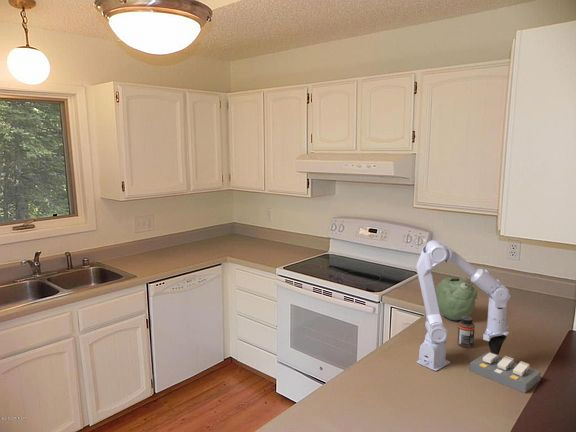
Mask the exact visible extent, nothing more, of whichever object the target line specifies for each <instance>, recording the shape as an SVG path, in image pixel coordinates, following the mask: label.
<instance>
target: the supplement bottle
mask: <svg viewBox="0 0 576 432" xmlns="http://www.w3.org/2000/svg"><path fill="white" fill-rule="evenodd" d="M457 325H458V326H457V345H458V346H460V347H461V348H466V349H470V348H473V347H474V345H475V331H476V329H475V326H476V325H475V323H474V322H473V318H472V317H471V316H469V315H468V316H462V317H461V320H459V322H458V324H457Z"/></svg>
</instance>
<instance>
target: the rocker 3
mask: <svg viewBox="0 0 576 432" xmlns="http://www.w3.org/2000/svg"><path fill="white" fill-rule="evenodd" d="M517 364H518V365H517V366H516V367H515V368H514V369H513V373H515V374H517V375H520V376H522V375H523V374H524V373H525V372H526V370H527V369H528V368H530V363H527V362H524V361H522V360H521V361H519V363H517Z"/></svg>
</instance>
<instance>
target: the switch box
mask: <svg viewBox="0 0 576 432" xmlns="http://www.w3.org/2000/svg"><path fill="white" fill-rule="evenodd" d="M488 353H489V352H487V351H486V352H485V353H483V354H482V355H480V356H478V357H477V358H475V359H474V360H472V361H471V362H470V363H469V372H470V373H474V374H477V375H479V376H481V377H484V378H486V379H489V380H492V381H494V382H496V383H499V384H501V385H504V386H506V387H509V388H511V389H513V390H516V391H518V392H521V393H523V394H526V393H527V392H529V390H531V389H532V388H533V387H534V386H536V384H537V383H539V382H540V381H541V375H542V374H541V372H542V371H539V370H537V369H534V368H531V367H529V368H528V369H527V370H526V372H525V373H524V374H523V375H522V376H520V375H517V374H515V373H513V369H514V368H515V367H516V366H517V365H518V364H519V363H517V362H515V361H514V362H513V363H511V364H510V366H509V367H508V368H507V369H506V370H504V369H501V368H499V367H497V364H498V363H499V362H500V361H501V360H502V359H503V358H504V357H501V356H499V357H498V358H495V361H493V362H492V363H491V364H490V363H488V362H485V361H483V357H484V356H485V355H487V354H488Z"/></svg>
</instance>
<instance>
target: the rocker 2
mask: <svg viewBox="0 0 576 432" xmlns="http://www.w3.org/2000/svg"><path fill="white" fill-rule="evenodd" d="M502 358H503V359H502V360H501V361H500V362H499V363H498V364H497V367H499V368H501V369H504V370H506V369H507V368H508V367H509V366H510V364H511V363H513V362H515V361H514V358H513V357H510V356H507V355H504V356H503V357H502Z"/></svg>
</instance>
